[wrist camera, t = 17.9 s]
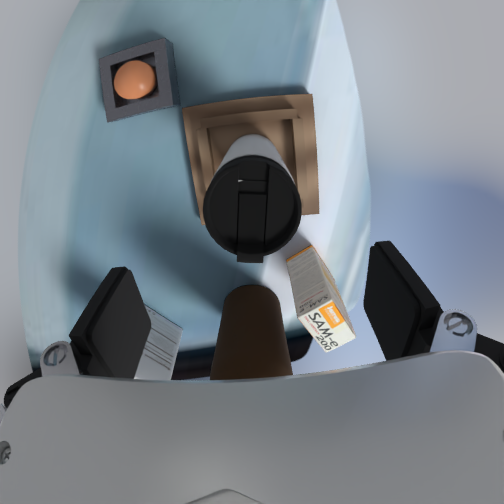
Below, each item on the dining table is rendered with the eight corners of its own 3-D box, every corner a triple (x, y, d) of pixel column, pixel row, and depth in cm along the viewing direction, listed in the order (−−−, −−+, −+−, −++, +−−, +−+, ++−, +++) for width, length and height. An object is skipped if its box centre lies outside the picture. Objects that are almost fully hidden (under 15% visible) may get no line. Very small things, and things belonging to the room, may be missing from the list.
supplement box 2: (284, 259, 43) (294, 317, 32) (311, 243, 42) (332, 297, 31) (310, 295, 47) (325, 354, 35) (335, 281, 45) (358, 338, 34)
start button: (121, 69, 29) (112, 67, 26) (156, 58, 28) (149, 55, 26) (125, 103, 31) (116, 103, 29) (160, 93, 31) (153, 93, 28)
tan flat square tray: (184, 108, 33) (177, 108, 30) (309, 94, 32) (315, 93, 29) (203, 221, 40) (199, 231, 37) (316, 209, 40) (322, 219, 37)
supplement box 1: (161, 351, 54) (144, 412, 41) (123, 328, 51) (97, 387, 38) (184, 329, 51) (168, 396, 37) (143, 302, 48) (115, 366, 35)
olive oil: (266, 270, 44) (276, 419, 22) (293, 316, 49) (313, 451, 27) (208, 295, 47) (182, 436, 25) (239, 336, 51) (233, 465, 29)
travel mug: (227, 183, 36) (201, 263, 19) (228, 132, 33) (199, 161, 16) (276, 185, 36) (297, 267, 19) (279, 135, 33) (309, 166, 16)
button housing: (110, 61, 29) (99, 59, 26) (172, 43, 28) (164, 37, 25) (118, 120, 33) (107, 122, 30) (180, 105, 33) (173, 105, 30)
